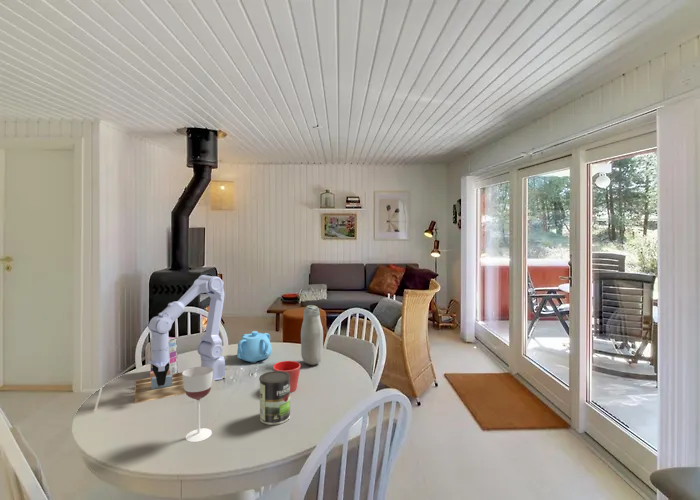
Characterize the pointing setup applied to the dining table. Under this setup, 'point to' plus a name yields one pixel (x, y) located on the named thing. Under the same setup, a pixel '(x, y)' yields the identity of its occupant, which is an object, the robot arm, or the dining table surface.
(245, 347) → the decorative pot
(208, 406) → the dining table surface
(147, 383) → the dish rack
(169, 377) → the slate plate
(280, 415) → the coffee can
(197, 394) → the wineglass
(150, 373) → the salmon pink block
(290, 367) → the flower pot
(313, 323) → the grey bottle
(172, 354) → the candy bar box
